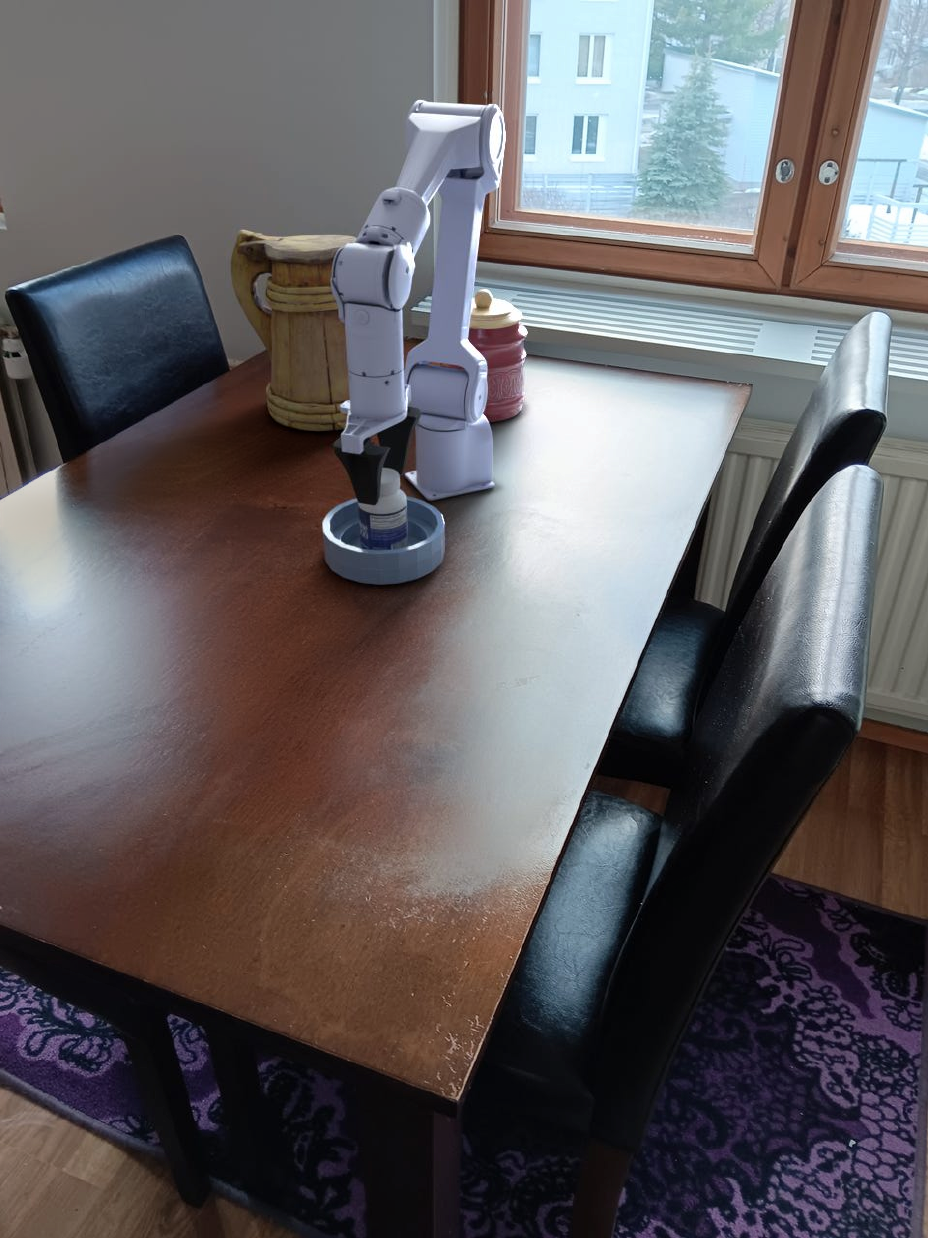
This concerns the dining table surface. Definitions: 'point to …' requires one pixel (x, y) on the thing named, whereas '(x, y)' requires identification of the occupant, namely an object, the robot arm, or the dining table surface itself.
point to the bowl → (384, 564)
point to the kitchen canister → (498, 353)
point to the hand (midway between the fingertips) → (381, 487)
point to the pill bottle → (385, 516)
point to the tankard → (296, 324)
